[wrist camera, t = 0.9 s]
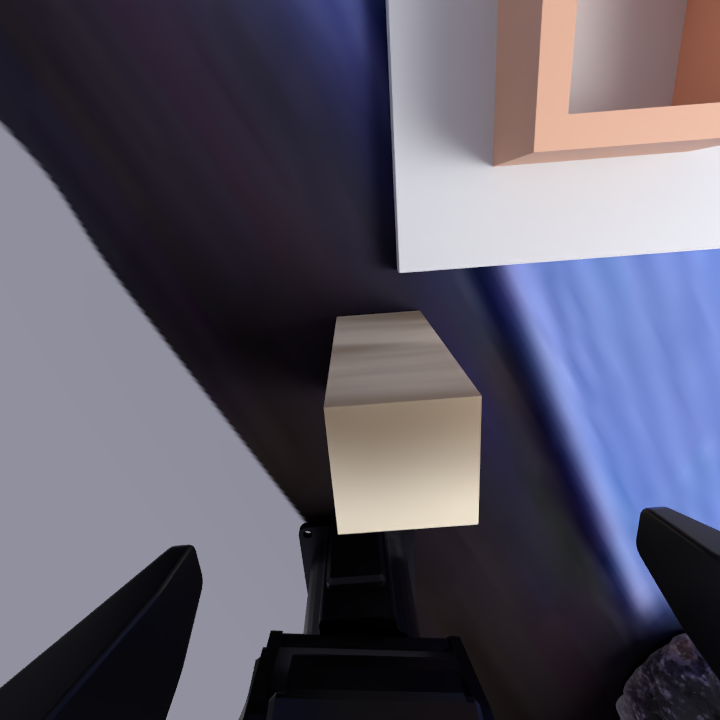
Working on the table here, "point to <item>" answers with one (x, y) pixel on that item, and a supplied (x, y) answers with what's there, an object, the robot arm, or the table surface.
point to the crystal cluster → (672, 686)
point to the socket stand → (553, 129)
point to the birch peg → (400, 427)
